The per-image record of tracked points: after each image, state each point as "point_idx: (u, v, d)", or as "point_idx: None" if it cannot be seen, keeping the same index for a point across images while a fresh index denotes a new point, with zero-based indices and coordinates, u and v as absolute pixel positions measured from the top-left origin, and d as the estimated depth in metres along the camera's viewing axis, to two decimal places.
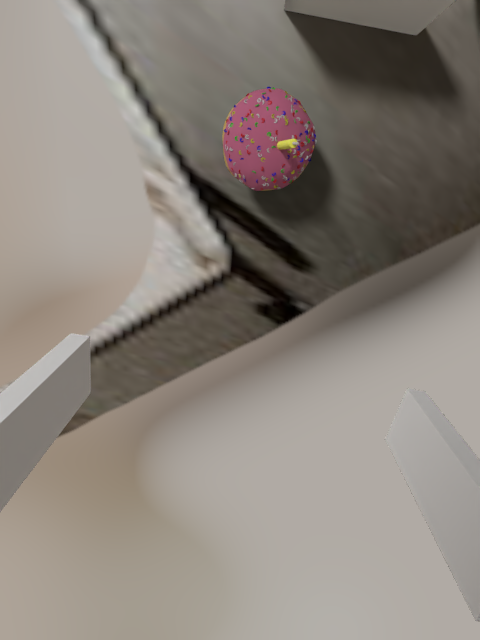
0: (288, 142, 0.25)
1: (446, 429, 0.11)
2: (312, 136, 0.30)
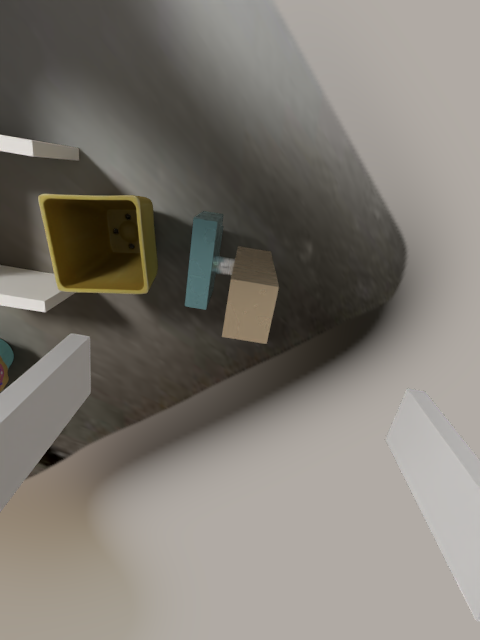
0: None
1: (446, 429, 0.11)
2: None
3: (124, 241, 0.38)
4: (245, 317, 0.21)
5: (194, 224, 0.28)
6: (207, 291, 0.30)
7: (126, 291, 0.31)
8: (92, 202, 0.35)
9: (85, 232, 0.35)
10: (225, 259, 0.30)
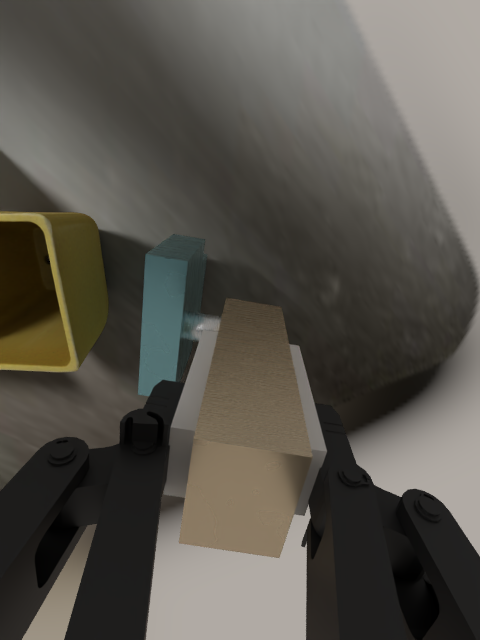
0: None
1: (297, 371, 0.13)
2: None
3: None
4: (230, 511, 0.09)
5: (147, 265, 0.16)
6: (174, 372, 0.18)
7: (42, 368, 0.19)
8: None
9: None
10: (204, 319, 0.18)
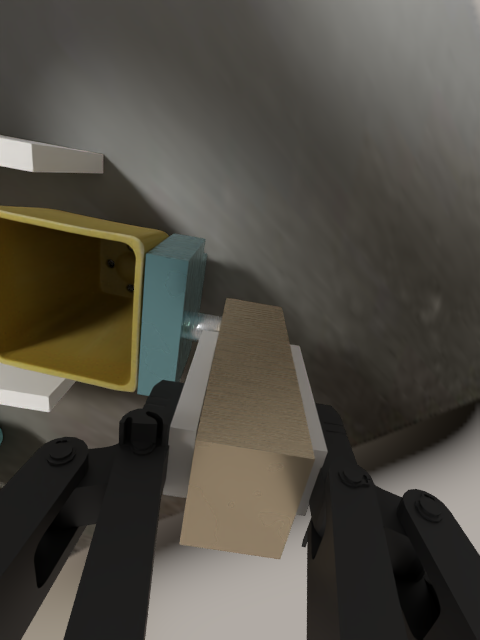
0: None
1: (297, 371, 0.13)
2: None
3: (121, 280, 0.25)
4: (232, 512, 0.09)
5: (147, 264, 0.16)
6: (174, 372, 0.18)
7: (99, 383, 0.19)
8: None
9: (60, 263, 0.22)
10: (205, 319, 0.18)
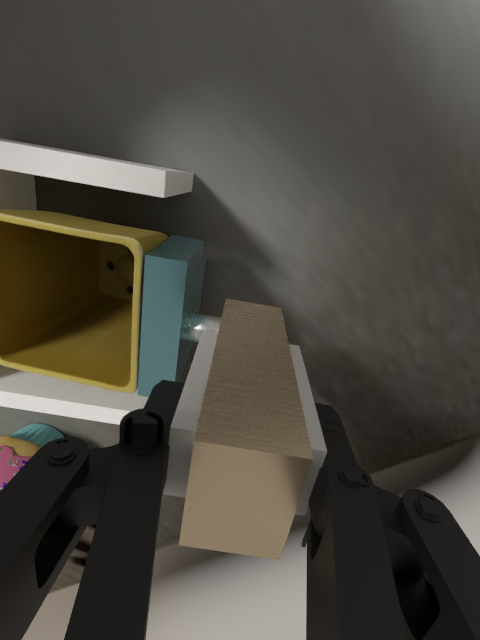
0: None
1: (297, 371, 0.13)
2: None
3: (121, 282, 0.26)
4: (231, 513, 0.09)
5: (146, 266, 0.16)
6: (174, 373, 0.18)
7: (99, 385, 0.19)
8: None
9: (61, 265, 0.22)
10: (204, 320, 0.18)
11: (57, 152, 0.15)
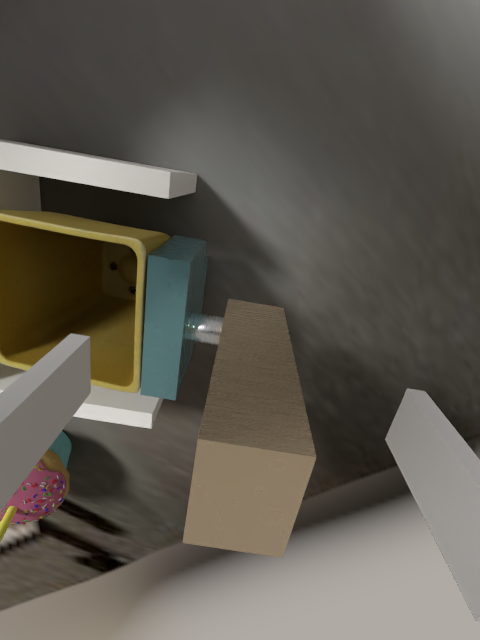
0: None
1: (446, 429, 0.11)
2: (56, 486, 0.28)
3: (123, 282, 0.26)
4: (234, 511, 0.09)
5: (150, 266, 0.16)
6: (176, 373, 0.18)
7: (102, 384, 0.19)
8: None
9: (64, 266, 0.23)
10: (207, 319, 0.18)
11: (63, 154, 0.16)
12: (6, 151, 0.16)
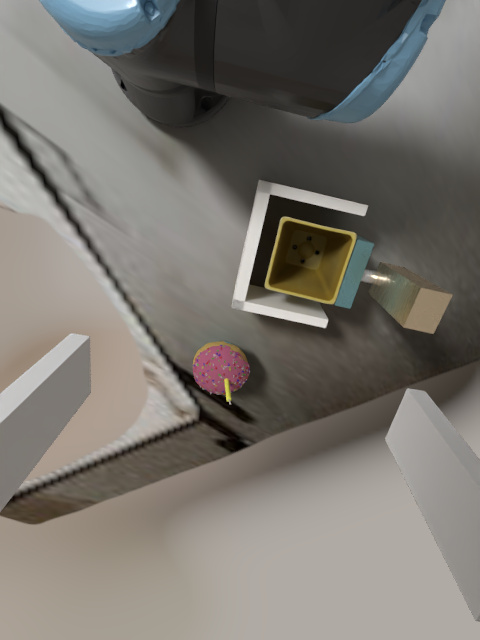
0: (226, 398, 0.44)
1: (446, 429, 0.11)
2: (247, 370, 0.49)
3: (298, 256, 0.47)
4: (423, 314, 0.31)
5: (356, 244, 0.38)
6: (354, 294, 0.40)
7: (317, 299, 0.40)
8: (292, 223, 0.44)
9: (281, 245, 0.44)
10: (369, 271, 0.40)
11: (324, 195, 0.37)
12: (300, 193, 0.37)
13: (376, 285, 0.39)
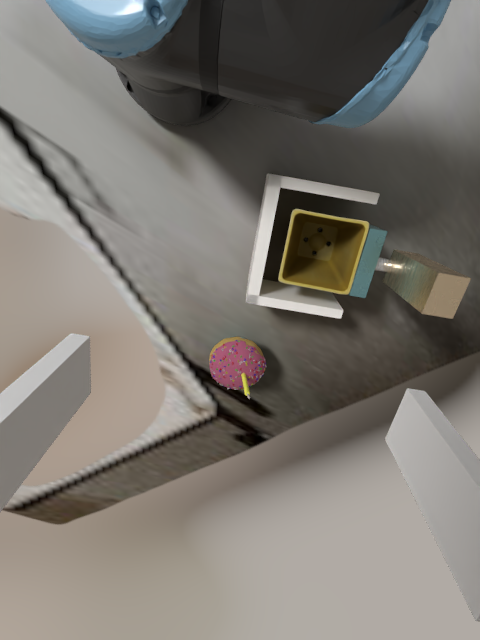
0: None
1: (446, 429, 0.11)
2: (263, 365, 0.50)
3: (310, 248, 0.47)
4: (442, 299, 0.31)
5: (369, 233, 0.38)
6: (369, 283, 0.40)
7: (331, 290, 0.40)
8: (303, 215, 0.44)
9: (292, 238, 0.44)
10: (383, 259, 0.40)
11: (335, 185, 0.37)
12: (311, 185, 0.37)
13: (391, 273, 0.39)
